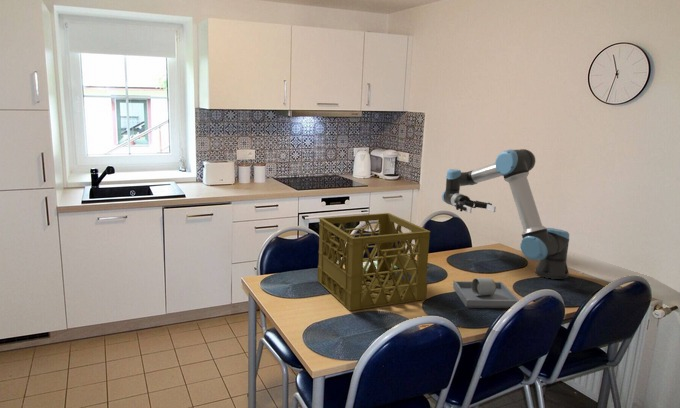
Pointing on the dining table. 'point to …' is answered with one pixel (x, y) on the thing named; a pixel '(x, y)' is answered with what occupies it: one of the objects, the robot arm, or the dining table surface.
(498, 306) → the tray
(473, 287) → the ceramic mug
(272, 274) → the dining table surface
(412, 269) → the milk crate
